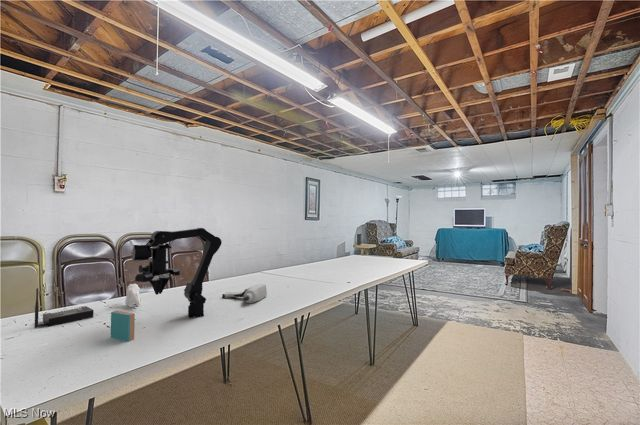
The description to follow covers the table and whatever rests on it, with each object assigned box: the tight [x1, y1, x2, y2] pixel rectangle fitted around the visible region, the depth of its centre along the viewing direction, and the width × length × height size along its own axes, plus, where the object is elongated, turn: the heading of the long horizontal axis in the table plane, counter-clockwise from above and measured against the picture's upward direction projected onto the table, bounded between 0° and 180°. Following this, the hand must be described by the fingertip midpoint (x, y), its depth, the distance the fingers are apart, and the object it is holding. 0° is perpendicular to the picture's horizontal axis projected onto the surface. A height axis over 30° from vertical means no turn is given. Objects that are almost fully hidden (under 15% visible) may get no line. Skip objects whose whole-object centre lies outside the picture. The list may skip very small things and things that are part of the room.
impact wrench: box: [221, 283, 268, 304], centre depth 175 cm, size 8×23×25 cm
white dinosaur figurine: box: [124, 282, 142, 308], centre depth 161 cm, size 7×24×11 cm, turn 44°
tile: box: [110, 310, 136, 343], centre depth 118 cm, size 2×10×10 cm, turn 68°
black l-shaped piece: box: [34, 288, 94, 329], centre depth 138 cm, size 20×14×17 cm
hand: (158, 294), depth 135 cm, fingers closed
